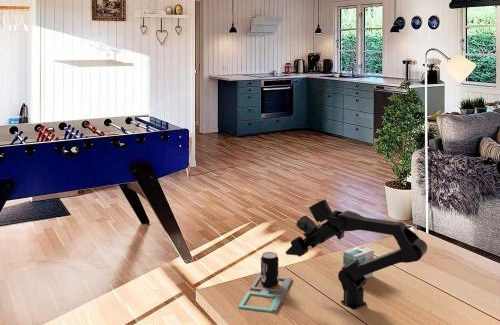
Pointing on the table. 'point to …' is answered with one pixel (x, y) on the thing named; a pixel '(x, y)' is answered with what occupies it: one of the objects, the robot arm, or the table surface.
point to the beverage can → (269, 269)
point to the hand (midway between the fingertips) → (292, 249)
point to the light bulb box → (359, 256)
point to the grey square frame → (267, 288)
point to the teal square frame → (258, 307)
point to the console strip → (280, 294)
